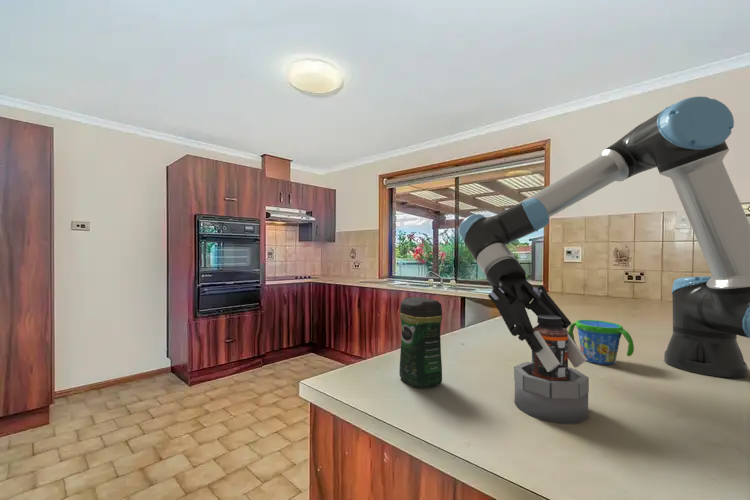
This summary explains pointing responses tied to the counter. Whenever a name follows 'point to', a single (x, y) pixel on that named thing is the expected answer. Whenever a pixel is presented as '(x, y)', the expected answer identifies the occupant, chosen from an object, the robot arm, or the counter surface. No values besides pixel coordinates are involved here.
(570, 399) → the octagonal grey sleeve
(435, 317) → the coffee jar
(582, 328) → the snack cup
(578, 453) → the counter surface
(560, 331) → the supplement bottle
